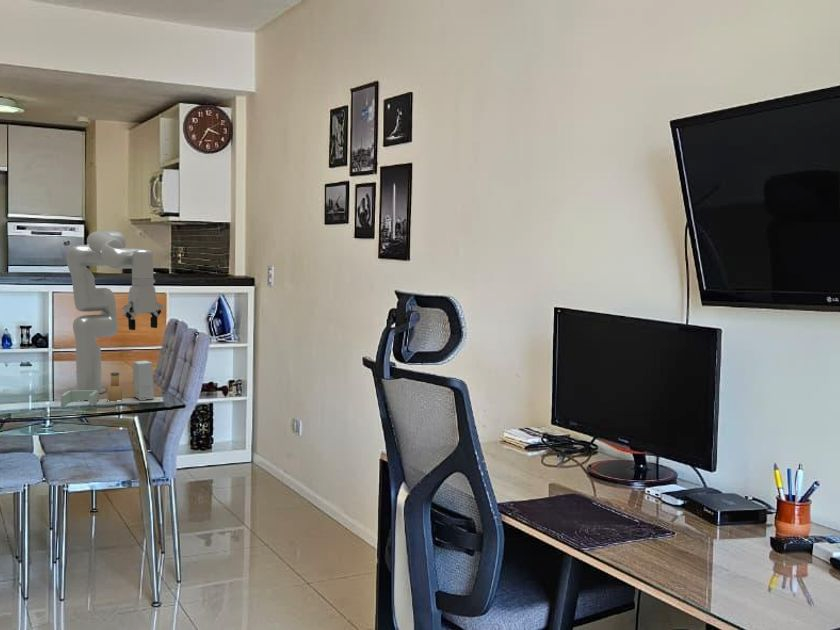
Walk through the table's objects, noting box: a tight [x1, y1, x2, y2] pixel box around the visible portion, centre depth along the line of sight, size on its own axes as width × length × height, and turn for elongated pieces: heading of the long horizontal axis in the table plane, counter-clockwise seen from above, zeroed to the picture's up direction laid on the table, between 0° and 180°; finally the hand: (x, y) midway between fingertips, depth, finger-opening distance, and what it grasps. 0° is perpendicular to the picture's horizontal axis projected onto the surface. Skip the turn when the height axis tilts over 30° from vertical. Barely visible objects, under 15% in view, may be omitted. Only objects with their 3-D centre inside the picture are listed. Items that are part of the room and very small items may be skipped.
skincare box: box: [132, 360, 155, 401], centre depth 354 cm, size 8×6×15 cm
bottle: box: [107, 371, 124, 401], centre depth 349 cm, size 6×6×11 cm
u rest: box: [60, 389, 100, 407], centre depth 344 cm, size 10×11×4 cm
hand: (143, 328), depth 334 cm, fingers open, 9 cm apart
